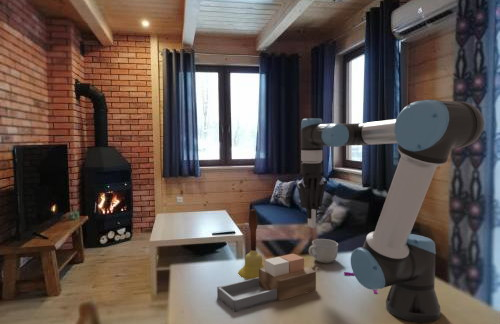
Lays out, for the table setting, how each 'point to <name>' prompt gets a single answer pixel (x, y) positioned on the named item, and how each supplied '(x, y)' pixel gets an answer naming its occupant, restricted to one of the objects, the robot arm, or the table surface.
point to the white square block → (276, 266)
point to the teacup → (324, 250)
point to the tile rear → (294, 262)
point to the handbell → (252, 252)
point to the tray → (245, 294)
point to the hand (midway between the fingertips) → (311, 226)
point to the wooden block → (289, 282)
